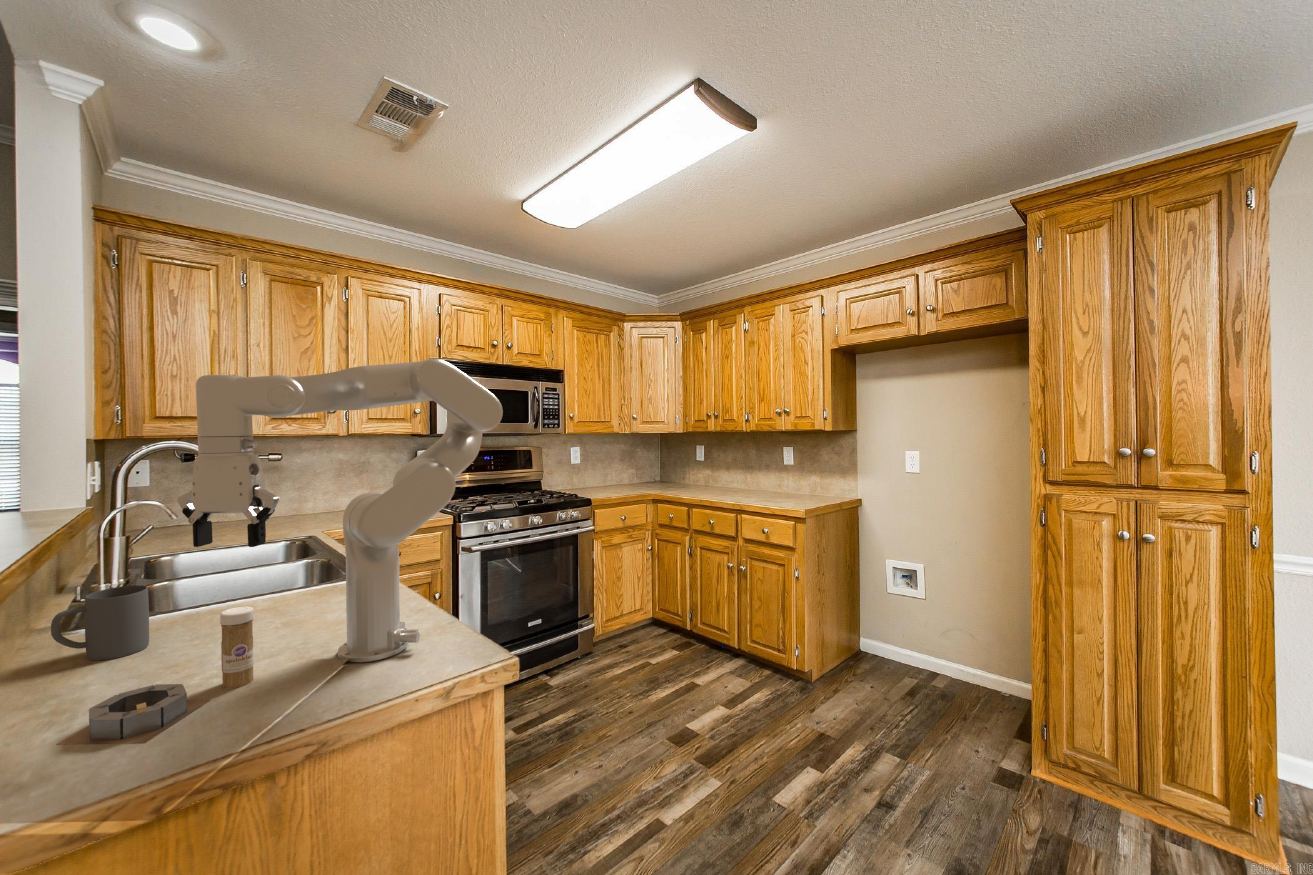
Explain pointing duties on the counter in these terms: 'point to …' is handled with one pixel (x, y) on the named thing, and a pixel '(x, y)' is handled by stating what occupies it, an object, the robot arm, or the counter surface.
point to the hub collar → (137, 712)
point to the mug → (111, 623)
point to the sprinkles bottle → (237, 647)
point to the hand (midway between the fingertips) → (230, 545)
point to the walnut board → (84, 736)
